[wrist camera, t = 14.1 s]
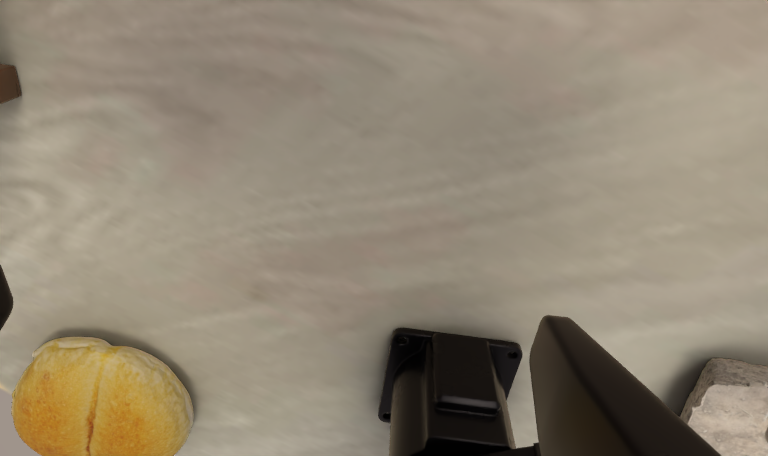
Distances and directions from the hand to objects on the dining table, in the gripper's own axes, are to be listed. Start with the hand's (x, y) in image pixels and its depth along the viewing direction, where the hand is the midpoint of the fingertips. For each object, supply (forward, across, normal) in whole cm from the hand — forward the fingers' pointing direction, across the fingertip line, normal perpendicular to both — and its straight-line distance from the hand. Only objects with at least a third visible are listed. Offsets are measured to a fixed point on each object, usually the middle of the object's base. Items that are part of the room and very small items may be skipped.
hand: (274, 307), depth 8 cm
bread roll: (+13, +12, +18) cm, 25 cm away
